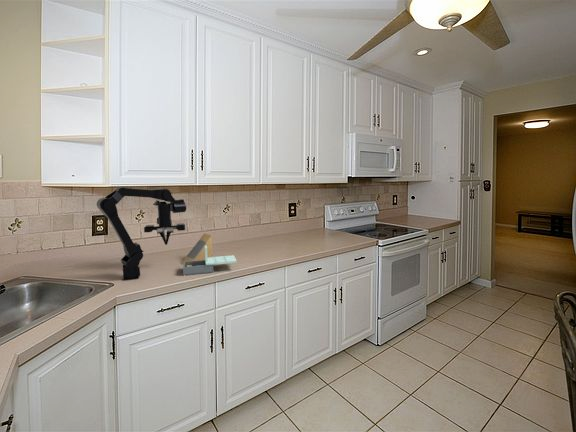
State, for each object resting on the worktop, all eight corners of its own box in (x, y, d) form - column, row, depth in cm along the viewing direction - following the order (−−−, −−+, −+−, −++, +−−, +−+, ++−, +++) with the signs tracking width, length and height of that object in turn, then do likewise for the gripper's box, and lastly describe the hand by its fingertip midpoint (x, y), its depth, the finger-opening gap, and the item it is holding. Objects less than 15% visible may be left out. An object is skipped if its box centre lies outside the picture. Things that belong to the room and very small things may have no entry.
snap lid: (205, 265, 142) (205, 249, 141) (204, 259, 153) (204, 244, 152) (236, 262, 147) (236, 247, 146) (233, 256, 157) (233, 242, 156)
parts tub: (183, 275, 140) (182, 267, 140) (183, 269, 150) (183, 261, 149) (213, 272, 144) (213, 264, 144) (212, 266, 154) (211, 259, 153)
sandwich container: (179, 263, 160) (178, 236, 158) (205, 258, 171) (204, 233, 169) (186, 267, 154) (185, 239, 152) (212, 261, 165) (212, 235, 163)
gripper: (184, 211, 156) (186, 240, 158) (146, 212, 151) (148, 242, 153) (184, 213, 146) (185, 244, 148) (142, 215, 140) (145, 247, 142)
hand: (166, 244), depth 148 cm, fingers closed
